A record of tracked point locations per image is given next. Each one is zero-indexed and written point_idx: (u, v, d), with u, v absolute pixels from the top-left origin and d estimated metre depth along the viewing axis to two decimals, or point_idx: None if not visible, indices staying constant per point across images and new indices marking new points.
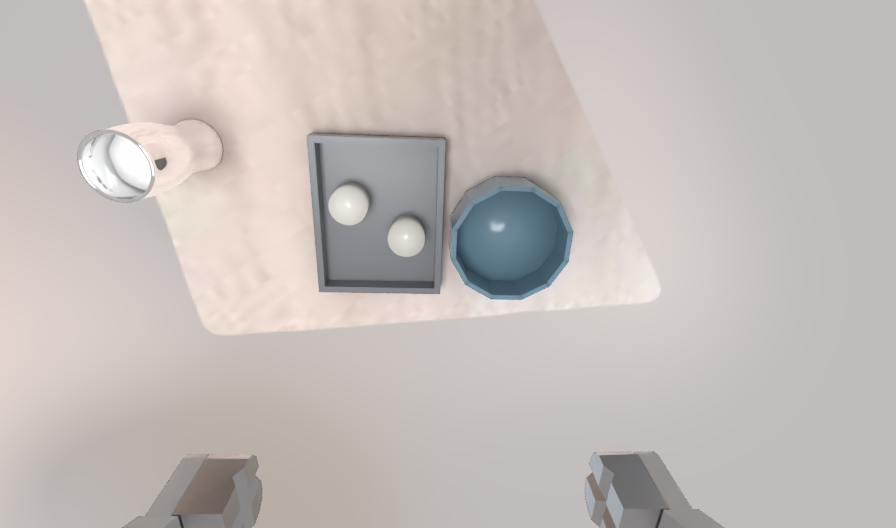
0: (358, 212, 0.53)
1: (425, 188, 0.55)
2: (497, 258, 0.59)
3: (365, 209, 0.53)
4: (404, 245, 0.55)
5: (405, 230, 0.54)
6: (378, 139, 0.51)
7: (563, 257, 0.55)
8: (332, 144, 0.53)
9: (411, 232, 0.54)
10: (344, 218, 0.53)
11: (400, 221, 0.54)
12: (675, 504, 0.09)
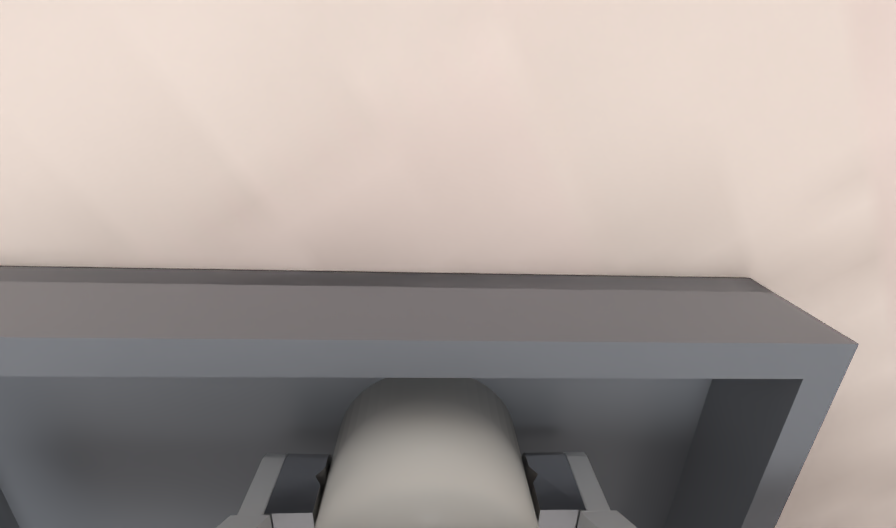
0: None
1: None
2: None
3: None
4: None
5: None
6: None
7: None
8: None
9: None
10: None
11: None
12: (594, 505, 0.09)
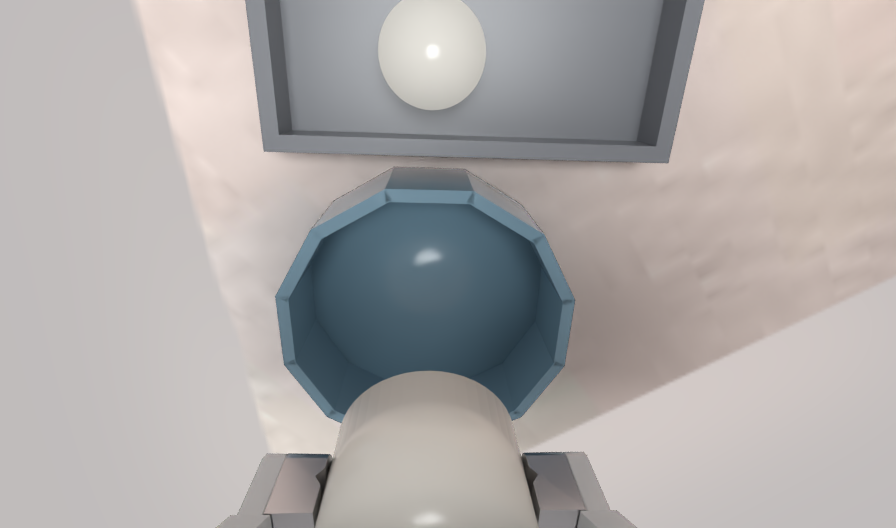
0: None
1: (541, 110, 0.23)
2: (368, 281, 0.26)
3: None
4: (413, 47, 0.19)
5: (460, 51, 0.19)
6: None
7: None
8: None
9: (454, 70, 0.19)
10: None
11: (482, 37, 0.19)
12: (594, 505, 0.09)
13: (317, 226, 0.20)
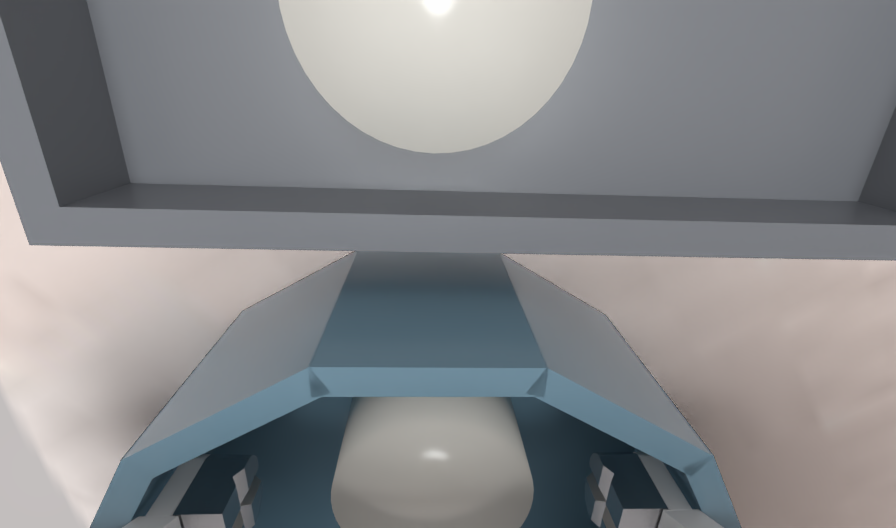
0: None
1: (669, 139, 0.11)
2: (313, 457, 0.14)
3: None
4: None
5: None
6: None
7: None
8: None
9: (499, 44, 0.07)
10: (368, 486, 0.10)
11: None
12: (675, 504, 0.09)
13: (138, 451, 0.08)
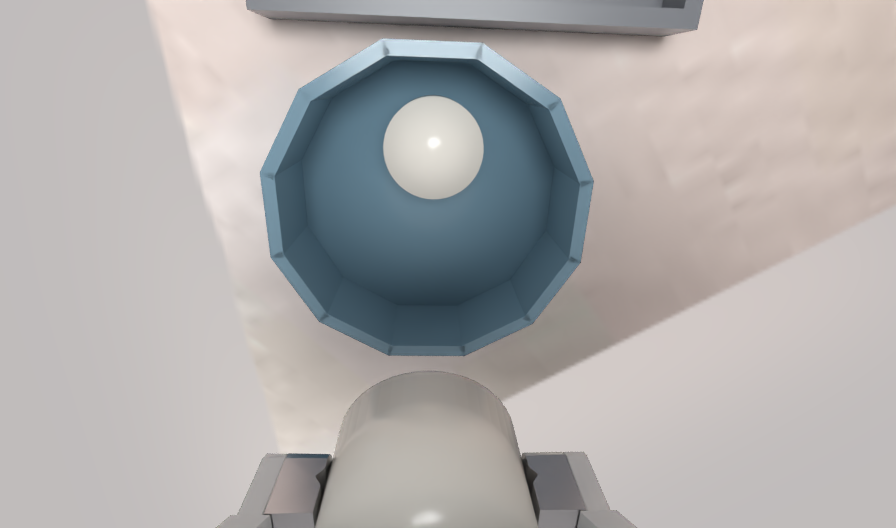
0: (418, 176, 0.20)
1: None
2: (364, 181, 0.24)
3: (427, 195, 0.21)
4: None
5: None
6: None
7: (397, 342, 0.23)
8: None
9: None
10: (402, 138, 0.20)
11: None
12: (593, 505, 0.09)
13: (306, 85, 0.18)
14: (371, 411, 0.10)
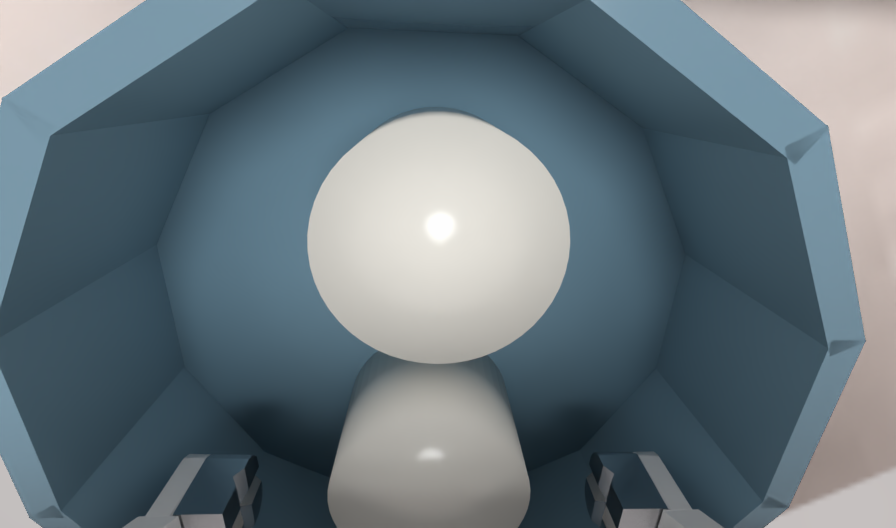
0: (400, 315, 0.08)
1: None
2: (294, 284, 0.11)
3: (422, 355, 0.08)
4: (395, 494, 0.10)
5: (482, 496, 0.10)
6: None
7: None
8: None
9: (470, 519, 0.10)
10: (355, 226, 0.07)
11: None
12: (675, 504, 0.09)
13: (27, 86, 0.05)
14: (381, 366, 0.11)
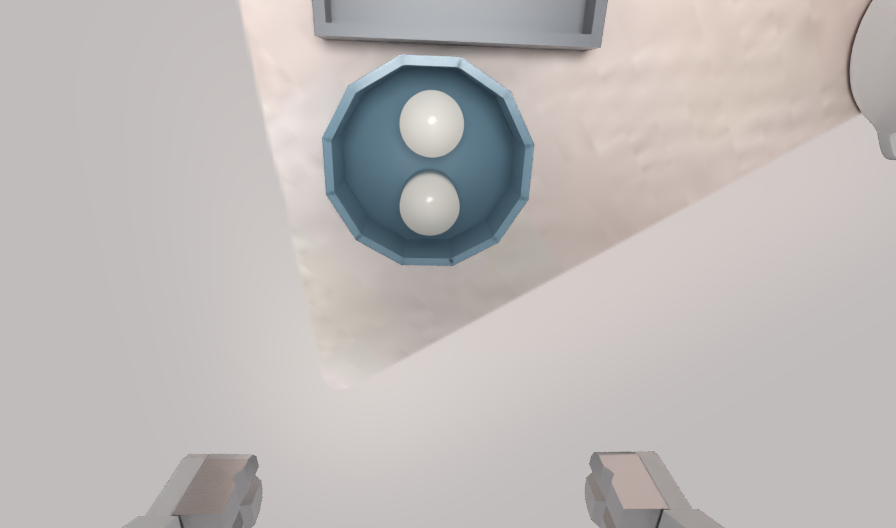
0: (421, 142, 0.32)
1: (511, 12, 0.32)
2: (385, 148, 0.35)
3: (427, 154, 0.32)
4: (419, 204, 0.33)
5: (445, 205, 0.34)
6: None
7: (407, 256, 0.34)
8: None
9: (442, 215, 0.34)
10: (411, 117, 0.31)
11: None
12: (675, 504, 0.09)
13: (353, 83, 0.29)
14: (413, 175, 0.35)
